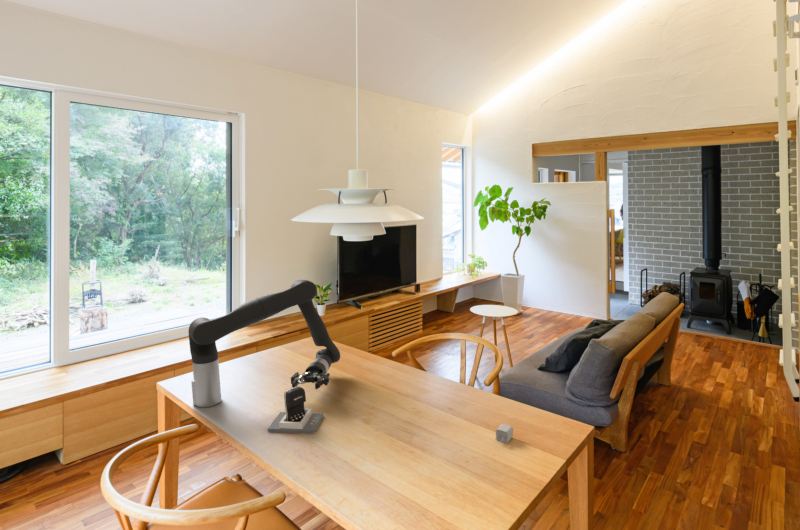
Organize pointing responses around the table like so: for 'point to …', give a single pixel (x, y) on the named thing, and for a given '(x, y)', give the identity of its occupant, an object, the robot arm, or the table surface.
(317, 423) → the charging dock
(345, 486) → the table surface
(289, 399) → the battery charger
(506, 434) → the usb wall charger
